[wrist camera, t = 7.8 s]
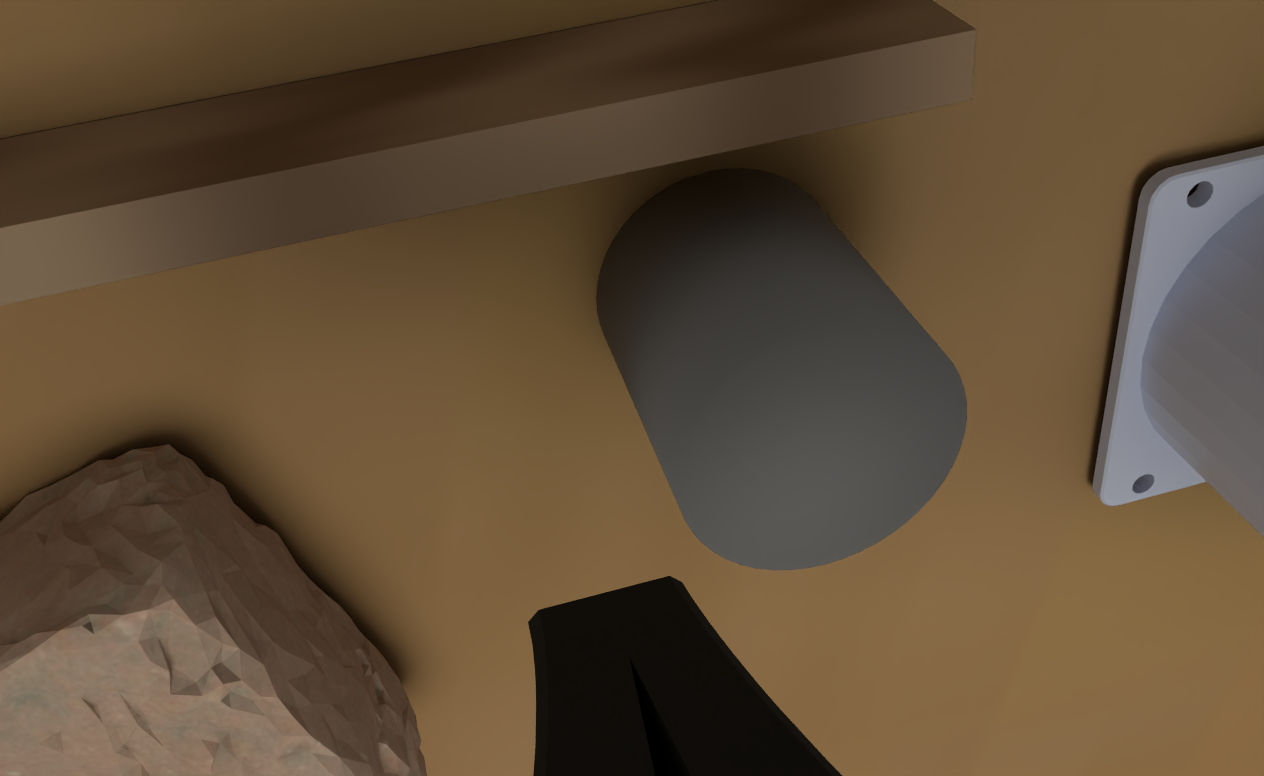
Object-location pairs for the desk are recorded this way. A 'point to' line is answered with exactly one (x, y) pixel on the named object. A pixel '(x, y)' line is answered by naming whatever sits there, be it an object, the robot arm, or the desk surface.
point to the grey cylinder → (775, 372)
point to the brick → (179, 640)
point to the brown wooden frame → (458, 132)
